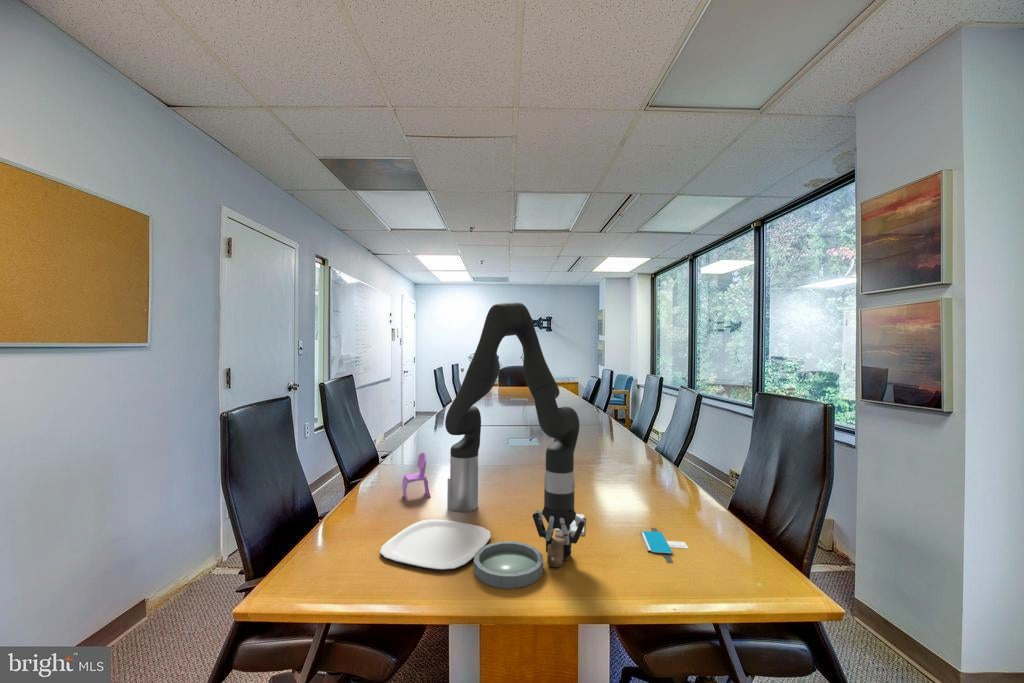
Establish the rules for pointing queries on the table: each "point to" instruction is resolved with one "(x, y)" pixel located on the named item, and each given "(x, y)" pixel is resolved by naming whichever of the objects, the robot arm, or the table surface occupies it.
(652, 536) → the blue flat panel
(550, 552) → the bead string
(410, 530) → the plate
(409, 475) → the toy chair
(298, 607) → the table surface
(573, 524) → the external hard drive
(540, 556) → the round tray
